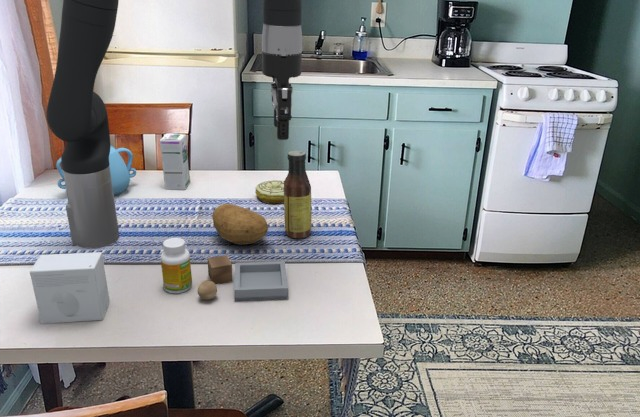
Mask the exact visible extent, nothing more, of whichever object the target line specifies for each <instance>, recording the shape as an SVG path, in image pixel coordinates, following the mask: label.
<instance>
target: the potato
mask: <svg viewBox="0 0 640 417" xmlns="http://www.w3.org/2000/svg"><path fill="white" fill-rule="evenodd" d="M211 217H212V224H213V227H214V228H215V230H216V232H217V234H218V236H220V237H221V238H223V239H224V240H225V241H228V242H230V243H233V244H235V245H249V244H255V243H257V242H259V241H260V240H261V239H263V238H264V237H265V236H266V235H267V234H268V231H269V226H268V224H267V219H266V218H265V217H264V216H263V215H261V214H259V213H257V212H256V211H254V210H251V209H249V208H246V207H243V206H241V205H240V206H239V205H237V204H233V203H232V204H231V203H224V204H220V205H218V206H217V207H216V208H215V209H214V210H213V211H212V215H211Z"/></svg>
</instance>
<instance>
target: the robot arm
mask: <svg viewBox="0 0 640 417" xmlns="http://www.w3.org/2000/svg"><path fill="white" fill-rule="evenodd" d="M119 2H120V0H62V9H61V10H62V11H61V18H60V30H59V31H60V32H59V38H58V39H59V40H58V48H57V49H58V50H57V59H56V67H55V72H54V78H53V81H52V86H51V90H50V94H49V98H48V102H47V106H46V112H45V114H46V121H47V125H48V127H49V129H50V130H51V132H52V133H53V134H54V136H55V137H56V138H58V139H59V140H61V141H64V142H65V147H64V149H63V152H62V154H61V157H60V158H61V162H62V163H61V168H62V171H63V174H64V180H65V181H64V185H66V189H65V190H66V196H67V200H68V201H67V204H66V205H65V211H66V215H67V216H66V217H67V221H68V227H69V233H70V239H71V244H72V246H77V245H78V247H80V248H84V249H85V248H86V249H98V248H103V247H107V246H110V245H112V244H114V243H115V242H117V241H118V240H119V238H120V232H119V230H120V228H119V223H118V217H117V211H116V210H117V209H116V202H115V195H114V193H113V186H112V179H111V172H110V164H109V154H110V147H111V146H112V145H111V137H110V136H111V134H110V124H109V116H108V111H107V108H106V104H105V102H104V101H103V98H102V97H101V96H100V95H99V94H97V93H96V91H94V89H95V83H96V79H97V75H98V71H99V70H100V66H101V65H102V63H103V60H104V58H105V57H106V54H107V51H108V50H109V46H110V44H111V42H112V39H113V36H114V31H115V27H116V22H117V16H118V15H117V14H118V8H119ZM302 4H303V3H302V0H263V10H262V14H263V16H262V17H263V20H262V32H261V33H262V35H261V73H262V75H263V76H265V77H267V78H272V82H271V83H270V92H271V97H270V98H271V102H272V107H273V126H274V127H275V128H276V137H277V138H276V139H278V140H280V141H287V140H288V139H290V138H289V135H290V121H291V120H292V107H293V99H292V98H293V92H294V91H293V86H292V83H290V79H291V78H294V79H295V78H298V77H300V76H301V74H302V66H303V65H302V63H303V62H302V59H303V56H302V54H303V33H302V31H303V30H302V12H303V11H302V10H303V9H302V6H303V5H302Z"/></svg>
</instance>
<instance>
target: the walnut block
mask: <svg viewBox="0 0 640 417" xmlns="http://www.w3.org/2000/svg"><path fill="white" fill-rule="evenodd" d="M207 273H208V274H207V275H208V277H209V281H212V282H214V283H215V284H216V285H220V284H227V283H231V282H233V264H232V262H231V260H230V258H229V255H228V254H225V255H224V254H223V255H218V256H213V257H207Z"/></svg>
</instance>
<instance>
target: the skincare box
mask: <svg viewBox="0 0 640 417" xmlns="http://www.w3.org/2000/svg"><path fill="white" fill-rule="evenodd" d="M29 276H30V279H31V283H32V287H33V292H34V297H35V301H36V305H37V310H38V315H39V322H40V325H41V324H42V325H44V324H45V325H46V324H58V323H72V322H75V323H76V322H89V321H103V319H104V317H105V315H106V312H107V310H108V306H109V304H110V301H111V300H110V295H109V294H110V293H109V288H108V281H107V274H106V269H105V263H104V256H103V251H102V252H101V251H96V252H76V253H57V254H56V253H55V254H41V255H39V257H38V258H37V260H36V261H35V263H34V264H33V265H32V267H31V268H30V270H29Z"/></svg>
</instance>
